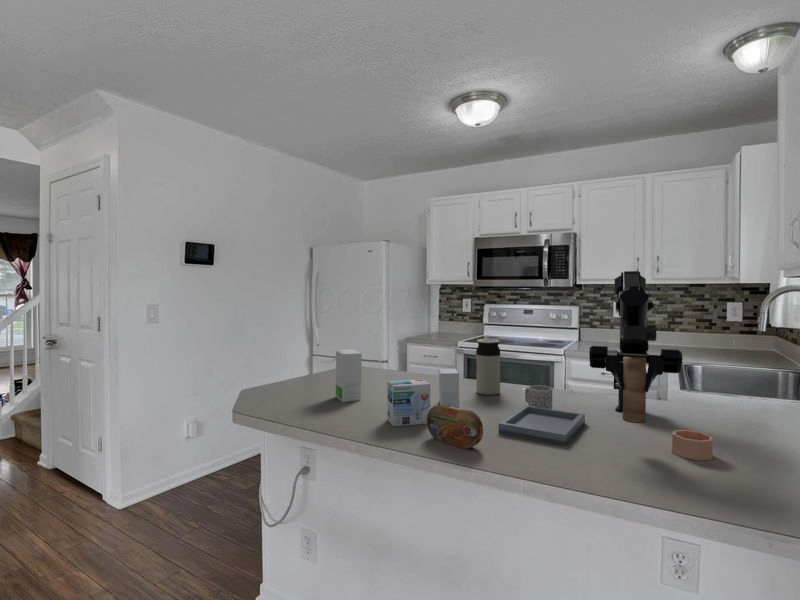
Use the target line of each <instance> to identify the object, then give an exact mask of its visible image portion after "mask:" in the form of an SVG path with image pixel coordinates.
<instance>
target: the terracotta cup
mask: <svg viewBox="0 0 800 600" xmlns="http://www.w3.org/2000/svg"><path fill="white" fill-rule="evenodd" d="M713 445H714V443H713V436H712V435H710V434H707V433H705V432H701V431H695V430H688V429H676V430H675V429H674V430H672V433H671V452H672V454H674V455H676V456H679V457H681V458H683V459H689V460H695V461H700V462H701V461H711V460H713V448H714V447H713Z"/></svg>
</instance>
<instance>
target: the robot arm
mask: <svg viewBox="0 0 800 600" xmlns="http://www.w3.org/2000/svg"><path fill="white" fill-rule="evenodd" d="M646 291H647V279H646V277H644V276H643V275H641V271H638V270H625V271H621V272H620V275H619V276H617V277H616V278H614V296H616V298H615V312H617V313H618V316H619V317H620V318H619V351H618V350H615V349H609V348H608V345H591V346H590V347H589V351H588V353H589V367H590V368H592V369H605V371H607V372H609V373H611V374H612V376H613V390H618V403H617V406H616V407H615V411H616V412H622V413H623V357H625V356H636V357H644V358H646V365H647V366H648V367H647V370H646V393H649V390H650V388H651V386H652V384H653V382H654V380H655V379H656V378H657V376H662V375H663V373H665V374H666V373H667V374H680V373H681V370H682V364H683V353H682V351H681V350H679V349H676V348H673V349H672V348H661V349H660V354H650V353H648V351H649V347H650V346H649V342H655V341H657V326H656V325H655V324H647V317H648V313H650V312H651V310H652V309H653V308H654V302H652V301H651V299H650V298H649V295H648V294H647V292H646Z"/></svg>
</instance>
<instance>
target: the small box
mask: <svg viewBox="0 0 800 600" xmlns="http://www.w3.org/2000/svg"><path fill="white" fill-rule="evenodd" d="M438 403H439V406H440V405H447V406H451V407H456V408H460V373H459V371H458V370H457V368H439V369H438Z"/></svg>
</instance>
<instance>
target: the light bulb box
mask: <svg viewBox="0 0 800 600" xmlns="http://www.w3.org/2000/svg"><path fill="white" fill-rule="evenodd" d="M430 409H431V383H429V382H428V381H426V380H425V379H423V378H419V379H404V380H402V379H401V380H388V381H387V421H388V422H389V423H390V424H391V426H392V427H401V426H414V425H427V416H428V413H429V411H430Z"/></svg>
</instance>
